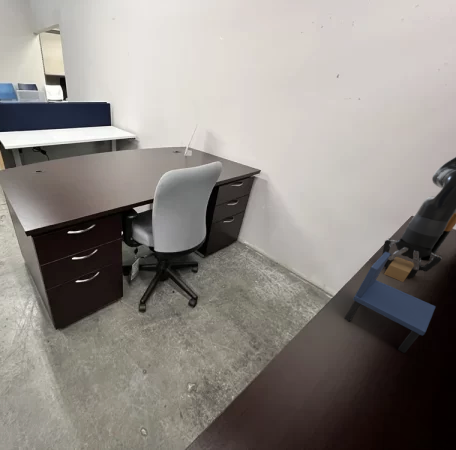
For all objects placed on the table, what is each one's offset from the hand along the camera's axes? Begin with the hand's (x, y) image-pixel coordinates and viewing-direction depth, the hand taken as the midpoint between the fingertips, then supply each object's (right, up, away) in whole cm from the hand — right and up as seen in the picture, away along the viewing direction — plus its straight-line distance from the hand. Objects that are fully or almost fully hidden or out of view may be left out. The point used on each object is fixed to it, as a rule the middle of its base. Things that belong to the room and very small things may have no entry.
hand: (397, 272), depth 83 cm
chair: (-25, -10, -20) cm, 33 cm away
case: (0, 0, 0) cm, 0 cm away
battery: (+20, +4, +11) cm, 23 cm away
